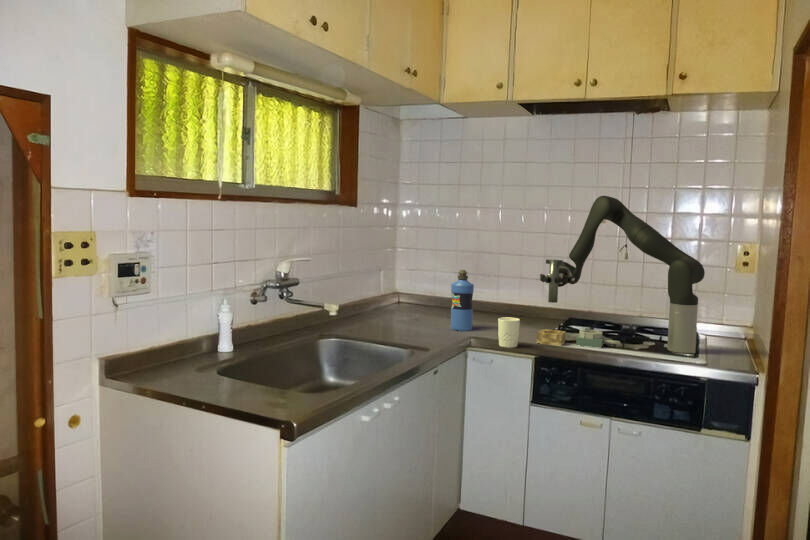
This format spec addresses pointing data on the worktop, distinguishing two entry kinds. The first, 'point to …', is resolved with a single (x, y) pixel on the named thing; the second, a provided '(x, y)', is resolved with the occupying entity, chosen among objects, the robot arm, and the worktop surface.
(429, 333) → the worktop surface
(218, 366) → the worktop surface
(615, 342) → the chuck block
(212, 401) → the worktop surface
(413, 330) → the worktop surface
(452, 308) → the water bottle
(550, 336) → the tan flat block
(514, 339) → the white cup
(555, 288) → the chuck key
